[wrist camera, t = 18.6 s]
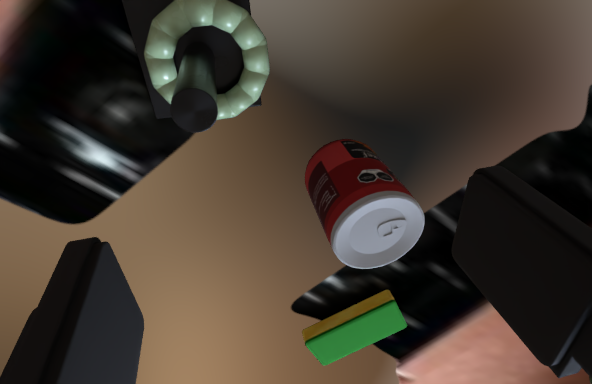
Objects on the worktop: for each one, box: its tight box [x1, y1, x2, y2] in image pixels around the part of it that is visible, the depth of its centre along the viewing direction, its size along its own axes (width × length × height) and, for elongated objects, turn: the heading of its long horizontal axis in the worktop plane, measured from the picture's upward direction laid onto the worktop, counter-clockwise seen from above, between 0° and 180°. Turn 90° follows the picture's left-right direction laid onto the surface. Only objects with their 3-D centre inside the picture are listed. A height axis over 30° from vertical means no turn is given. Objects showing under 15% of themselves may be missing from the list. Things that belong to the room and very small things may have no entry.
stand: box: [122, 0, 261, 132], centre depth 24 cm, size 9×9×13 cm
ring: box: [144, 0, 270, 120], centre depth 28 cm, size 9×9×2 cm
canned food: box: [305, 139, 425, 269], centre depth 34 cm, size 8×8×11 cm
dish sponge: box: [302, 290, 407, 365], centre depth 52 cm, size 7×14×2 cm, turn 115°
